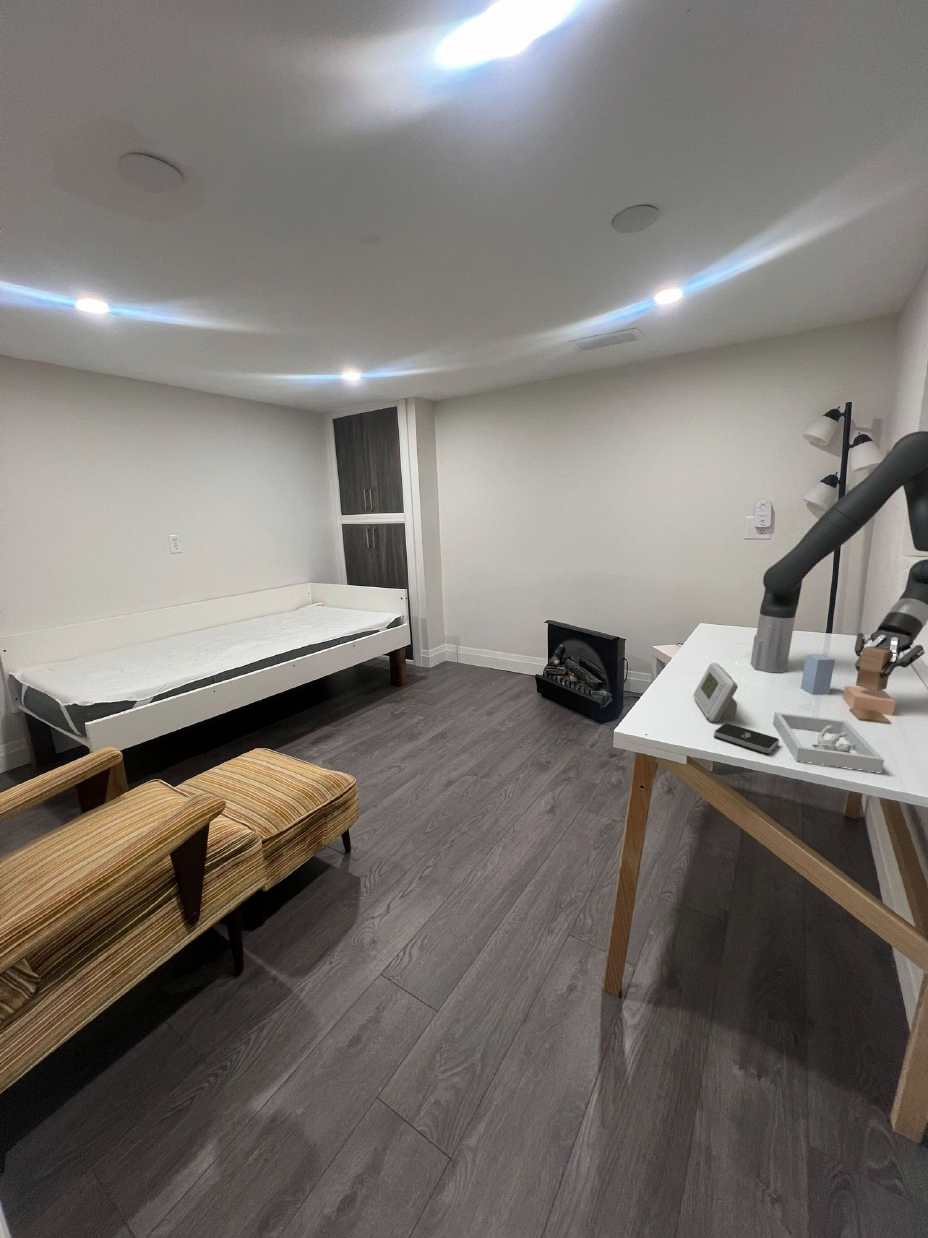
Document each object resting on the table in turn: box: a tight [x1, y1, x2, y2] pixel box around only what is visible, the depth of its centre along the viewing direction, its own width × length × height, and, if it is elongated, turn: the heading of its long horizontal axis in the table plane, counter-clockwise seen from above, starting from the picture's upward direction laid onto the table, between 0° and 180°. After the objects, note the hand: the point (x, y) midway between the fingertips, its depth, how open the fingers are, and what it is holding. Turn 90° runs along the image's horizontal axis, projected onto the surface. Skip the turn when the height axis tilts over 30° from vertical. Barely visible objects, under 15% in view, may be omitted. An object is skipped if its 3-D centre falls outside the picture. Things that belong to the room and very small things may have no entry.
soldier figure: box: [811, 725, 855, 752], centre depth 99 cm, size 8×5×12 cm
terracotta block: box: [842, 685, 896, 717], centre depth 123 cm, size 8×8×4 cm
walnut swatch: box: [849, 707, 891, 725], centre depth 117 cm, size 6×6×1 cm
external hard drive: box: [713, 722, 780, 756], centre depth 105 cm, size 7×11×2 cm, turn 42°
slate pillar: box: [800, 654, 836, 696], centre depth 132 cm, size 4×4×10 cm
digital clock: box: [692, 662, 739, 723], centre depth 119 cm, size 16×9×11 cm, turn 156°
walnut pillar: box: [855, 646, 892, 691], centre depth 120 cm, size 4×4×10 cm
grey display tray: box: [772, 711, 885, 773], centre depth 103 cm, size 14×18×3 cm
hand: (869, 672), depth 120 cm, fingers closed on walnut pillar, 4 cm apart
